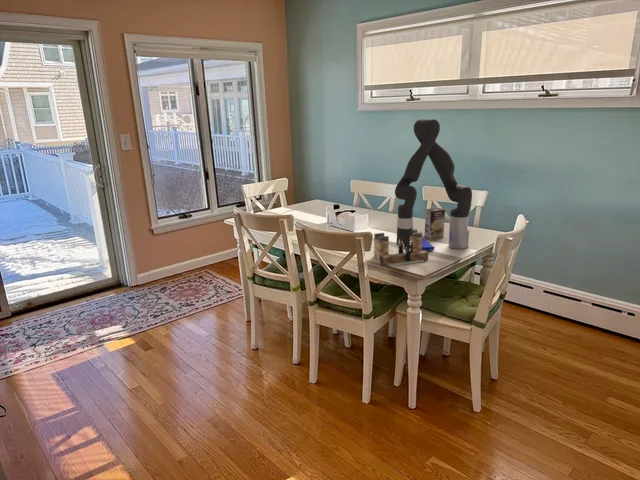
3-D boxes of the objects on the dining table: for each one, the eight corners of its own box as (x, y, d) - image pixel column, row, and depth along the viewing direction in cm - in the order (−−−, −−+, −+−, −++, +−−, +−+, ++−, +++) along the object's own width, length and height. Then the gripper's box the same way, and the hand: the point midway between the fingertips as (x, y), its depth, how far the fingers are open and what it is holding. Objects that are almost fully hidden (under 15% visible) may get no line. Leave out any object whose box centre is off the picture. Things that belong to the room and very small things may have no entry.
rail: (424, 256, 224) (425, 250, 223) (428, 259, 221) (428, 252, 220) (379, 262, 219) (380, 255, 218) (382, 264, 216) (382, 257, 215)
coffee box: (430, 238, 253) (431, 211, 249) (424, 235, 259) (425, 209, 254) (444, 236, 256) (445, 209, 251) (437, 233, 262) (439, 207, 257)
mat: (417, 257, 225) (417, 256, 225) (424, 261, 219) (424, 261, 219) (384, 261, 221) (384, 260, 221) (389, 266, 215) (389, 265, 215)
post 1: (383, 255, 229) (383, 232, 226) (388, 260, 223) (388, 236, 219) (374, 256, 228) (374, 233, 225) (379, 261, 222) (379, 237, 218)
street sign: (415, 253, 233) (434, 251, 234) (415, 247, 232) (434, 246, 233) (397, 234, 266) (413, 233, 267) (397, 229, 265) (413, 228, 266)
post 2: (415, 251, 233) (416, 229, 229) (421, 256, 227) (422, 232, 223) (406, 252, 232) (407, 230, 228) (412, 257, 226) (413, 233, 222)
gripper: (418, 229, 209) (417, 261, 214) (406, 221, 222) (405, 252, 227) (403, 230, 207) (402, 263, 212) (392, 223, 220) (391, 253, 225)
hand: (404, 257), depth 219 cm, fingers open, 8 cm apart
